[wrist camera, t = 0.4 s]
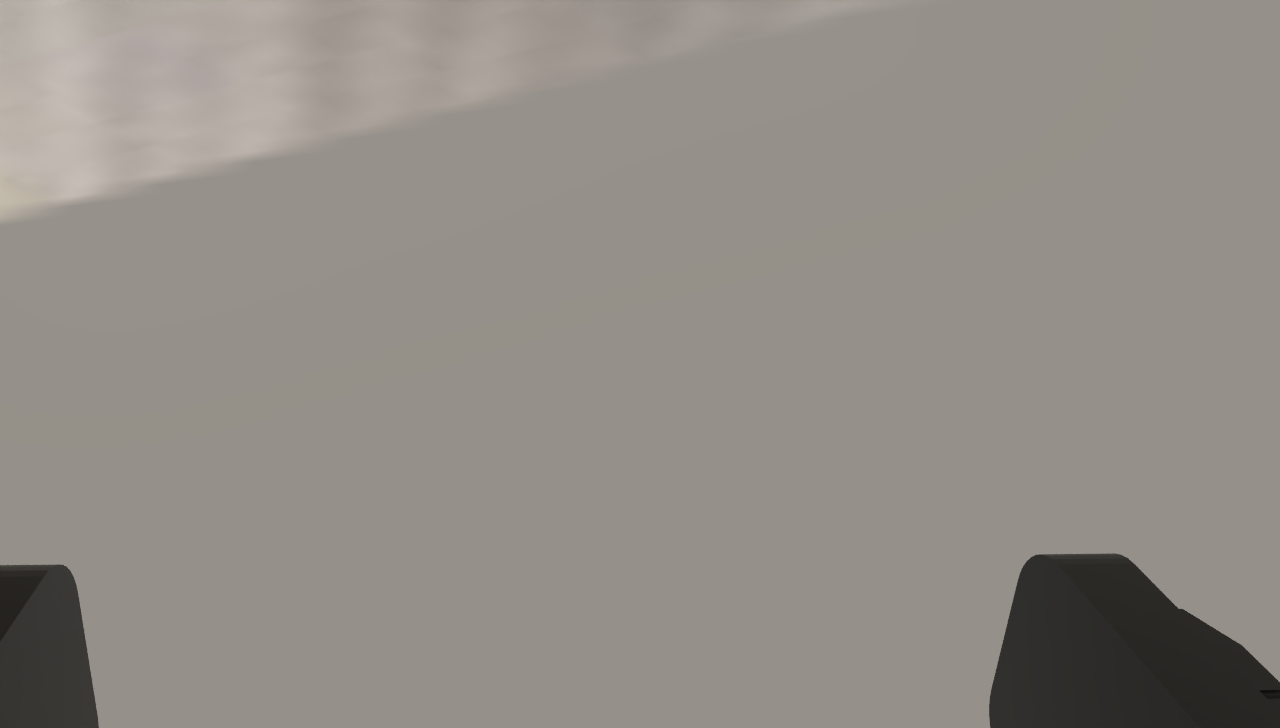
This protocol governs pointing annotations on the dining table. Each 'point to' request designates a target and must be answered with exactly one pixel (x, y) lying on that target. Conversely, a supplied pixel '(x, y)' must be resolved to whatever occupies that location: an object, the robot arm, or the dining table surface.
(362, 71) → the dining table surface
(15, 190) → the dining table surface
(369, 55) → the dining table surface
